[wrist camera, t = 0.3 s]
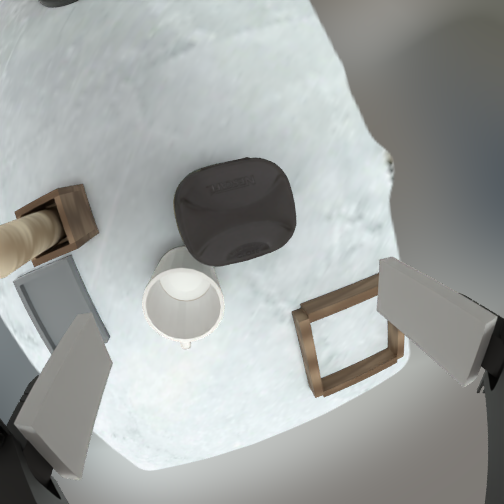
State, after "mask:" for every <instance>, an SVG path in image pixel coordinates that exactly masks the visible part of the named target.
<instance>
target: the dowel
mask: <svg viewBox="0 0 504 504" xmlns="http://www.w3.org/2000/svg"><path fill="white" fill-rule="evenodd" d="M66 237H67V235H66V232H65V230H64V227H63V224H62V221H61V218H60V215H59V212H58V209H57V206H54V207H50V208H47V209H44V210H41V211H38V212H36V213H33V214H30V215H27V216H24V217H21V218H19V219H16V220H13V221H11V222H8V223H5V224H3V225H0V278H5V277H6V276H8V275H9V274H11V273H12V272H14V271H15V270H16V269H18V268H19V267H21V266H22V265H24V264H25V263H27V262H28V261H30V260H31V259H33V258H34V257H36V256H37V255H39V254H41V253H42V252H44V251H45V250H47V249H48V248H50V247H52V246H53V245H55V244H56V243H58V242H60V241H61V240H63V239H65V238H66Z"/></svg>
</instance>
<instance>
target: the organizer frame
mask: <svg viewBox="0 0 504 504" xmlns="http://www.w3.org/2000/svg"><path fill="white" fill-rule="evenodd" d="M378 285H379V273H378V274H376V275H373V276H371V277H368V278H366V279H363V280H361V281H359V282H356V283H354V284H351V285H349V286H346V287H344V288H341V289H338V290H336V291H333V292H331V293H328V294H326V295H323V296H320V297H318V298H315V299H312V300H310V301H307V302H304V303H301V304H300V305H301V308H300V309H298V310H295V311H292V315H293V319H294V323H295V327H296V331H297V336H298V340H299V344H300V348H301V353H302V357H303V361H304V366H305V370H306V374H307V379H308V383H309V387H310V389H311V391H312V392H313V394H314V396H315V398H317V397H319V396H322V395H323V396H324V397H326V396H329V395H331V394H333V393H336V392H338V391H340V390H342V389H345V388H347V387H349V386H351V385H354V384H356V383H358V382H360V381H362V380H364V379H366V378H368V377H370V376H372V375H374V374H376V373H378V372H380V371H382V370H384V369H386V368H388V367H390V366H392V365H393V364H395V363H397V360H398V359H399V358H401V357H403V355H404V334H403V333H402V332H401V331H400V330H399V329H398V328H396V327H395V326H394V325H393V324H392V323H391V322H389V321H388V348H387V349H385V350H383V351H381V352H379V353H377V354H375V355H373V356H370V357H368V358H366V359H364V360H362V361H360V362H358V363H356V364H354V365H351V366H349V367H347V368H345V369H342V370H340V371H338V372H335V373H333V374H331V375H328V376H326V377H324V378H321V377H320V372H319V366H318V361H317V356H316V351H315V345H314V340H313V335H312V330H311V325H310V323H311V322H314V321H317V320H319V319H322V318H324V317H327V316H329V315H332V314H334V313H337V312H339V311H342V310H344V309H347V308H349V307H351V306H354V305H356V304H358V303H361V302H363V301H365V300H368V299H370V298H372V297H374V296H377V295H378Z"/></svg>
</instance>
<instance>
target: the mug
mask: <svg viewBox="0 0 504 504" xmlns="http://www.w3.org/2000/svg"><path fill="white" fill-rule="evenodd" d="M142 308H143V312H144V316H145V318H146V320H147V322H148V323H149V325H150V326H151V327H152V328H153V329H154V330H155V331H156V332H157V333H158V334H160V335H161V336H163V337H165V338H167V339H170V340H173V341H177V342H180V343H181V347H182V348H183V349H189V348H190V347H191V342H192V341H197V340H200V339H203V338H205V337H206V336H208V335H209V334H211V333H212V332H213V331H214V330H215V329H216V328H217V327H218V326H219V324H220V322H221V320H222V318H223V315H224V309H225V305H224V297H223V294H222V291H221V288H220V285H219V282H218V279H217V276H216V273H215V270H214V267H213V266H208V265H205V264H202V263H200V262H199V261H197V260H196V259H195V258H194V257H193V256H192V255H191V254H190V253H189V251H188V249H187V248H186V246H183V247H177V248H174V249H172V250H170V251H169V252H167V253H166V254H165V255H164V256H163V257H162V259H161V260H160V262H159V264H158V266H157V267H156V269H155V271H154V273H153V275H152V277H151V279H150V281H149V282H148V284H147V286H146V289H145V292H144V295H143V299H142Z"/></svg>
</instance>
